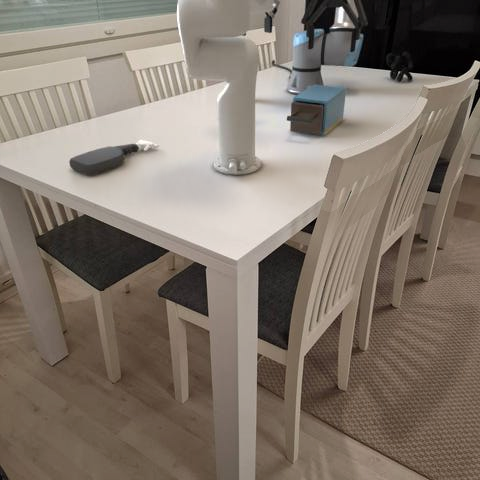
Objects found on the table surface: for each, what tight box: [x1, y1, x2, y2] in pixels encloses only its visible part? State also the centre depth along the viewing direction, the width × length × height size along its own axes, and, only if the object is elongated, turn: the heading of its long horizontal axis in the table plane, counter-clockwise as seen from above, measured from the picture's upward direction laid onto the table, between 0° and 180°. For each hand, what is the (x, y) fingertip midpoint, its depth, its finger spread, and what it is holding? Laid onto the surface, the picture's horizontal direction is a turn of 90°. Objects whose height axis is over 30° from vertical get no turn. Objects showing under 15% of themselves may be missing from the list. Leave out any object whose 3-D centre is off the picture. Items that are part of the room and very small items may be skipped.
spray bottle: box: [68, 139, 160, 177], centre depth 124 cm, size 3×11×24 cm
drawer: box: [286, 101, 324, 136], centre depth 141 cm, size 24×10×9 cm, turn 151°
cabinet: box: [292, 85, 347, 137], centre depth 145 cm, size 19×11×11 cm, turn 151°
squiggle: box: [385, 51, 414, 83], centre depth 198 cm, size 11×10×15 cm
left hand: (255, 33), depth 136 cm, fingers open, 9 cm apart
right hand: (331, 50), depth 140 cm, fingers open, 13 cm apart
